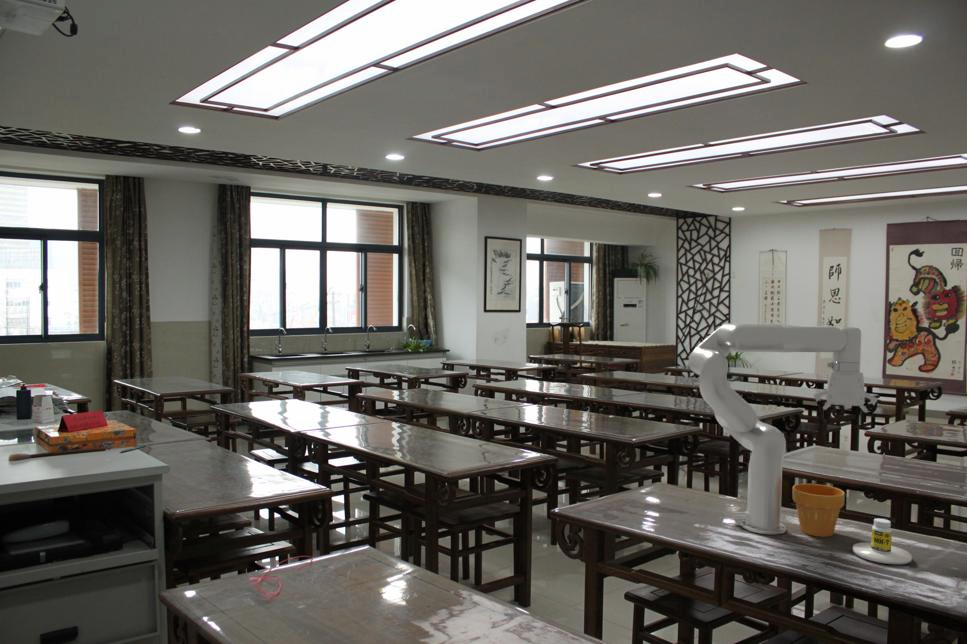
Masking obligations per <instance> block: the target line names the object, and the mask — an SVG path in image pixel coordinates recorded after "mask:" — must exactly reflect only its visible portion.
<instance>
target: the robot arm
mask: <svg viewBox="0 0 967 644" xmlns="http://www.w3.org/2000/svg"><path fill="white" fill-rule="evenodd" d="M861 351H862V331H861V328H858V327H852V326H830V325H814V326H797V325H790V324H781V323H780V324H779V323H766V324H765V323H763V324H762V323H761V324H760V323H730V322H729V323H724V324H721V326H719V327H717V329H715V330H714V331H713V332H712V333H711V334H710V335H708V337H706V338H705V339H704V340H703V341H702V342H701V343H700V344H699V345H698V346H696V347H695V349H693V350H692V352H691V353H690V354H689V357H688V366H689V369H690V370H691V371H692V372H693V373H694V374H696V375H698V376H699V377H698V378H699V379H698V386H699V392H700V394H701V396H702V398H703V399H704V401H705V402H706V404H708V406H709V407H710V408H711V409H712V410H713V411H714V412H713V413H714V417H715V419H716V421H717V422H718V424H719V425H720V426H721V427H722V428H723V429H724V430H725V431H726V433H728V434H729V435H730V436H732V437H733V439H734V440H736V441H737V442H738V443H739V444H740V445H741V446H742V447H744V448H745V449H747V450H749V451H751V455H750V457H749V458H750V459H749V462H748V470H747V471H748V473H747V478H748V479H747V503H746V504H747V508H746V510H745V511H741V512H740V511H736V510H733V511H732V510H731V518H734V519H735V520H741V525H740V526H741V527H742V528H743V529H745V530H747V531H749V532H752V533H756V534H762V535H771V536H772V535H775V536H776V535H781V534H784V533H785V532H786V531H787V528H786V526H785V525H784V524H783V523H781V521H782V520H781V517H782V516H781V515H782V487H783V485H782V483H783V463H784V458H785V454H786V449H787V441H786V438H785V435H784V433H783V432H782V431H781V430H779V429H778V428H777V427H776V426H773V425H771V424H768V423H765V422H762V421H761V420H760V419H759V418H758V414H757V412H756V410H755V408H754V407H753V406H752V405H751V404H750V403H748V401H746V400H745V398H743V397H742V396H741V395H740V394H739V393H737V392H736V390H735V389H734V388H733V387H732V386H731V385H730V384H729V382H728V379H727V375H728V370H729V368H728V367H729V365H728V359H727V358H726V357H727V356H728V355H729V354H730V353H731V352H734V353H735V352H736V353H832V362H827V364H826V368H830V369H831V370H830V371H829V374H828V378H827V386H826V389H824V390H822V391H819V392H816V393H814V394H813V398H814V399H815V401H816V403H817V405H819V407H821V409H822V420H824V422H825V424H828V423H829V419H830V417H829V416H830V415H829V413H830V411H829V407H830V406H832V405H836V406H851V407H859V408H860V409H861V410H860V412H859V424H860V425H861V426H862V427H863V426H865V423H867V413H868V412H869V411H870V410H871V409H873V408H874V407H875V405H876V403H877V402H878V398H877V397H876V396H873V395H872V394H871V393H868V392H866V391H865V380H864V373H863V372H860V371H861V356H862V355H861V354H862V353H861ZM823 396H826V401H825V403H824V402H823V401H822V400H821V397H823ZM866 399H869V400H870V401H869V403H868V404H867V405H864V404H865V400H866Z"/></svg>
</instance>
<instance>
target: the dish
mask: <svg viewBox="0 0 967 644" xmlns="http://www.w3.org/2000/svg"><path fill="white" fill-rule="evenodd" d="M852 552H853V553H854V554H855V555H856V556H858V557H860V558H862V559H865V560H868V561H872V562H876V563H879V564H885V565H886V564H888V565H906V564H910V563H911V562H912V558H913V555H912V554H911V553H910V552H909V551H907V550H905V549H903V548H900V547H897V546H893V545H891V553H888V554H884V553H878V552H875V551H873V550H872V549H871V542H858V543H855V544H853V545H852Z"/></svg>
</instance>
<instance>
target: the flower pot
mask: <svg viewBox="0 0 967 644" xmlns="http://www.w3.org/2000/svg"><path fill="white" fill-rule="evenodd" d="M845 498H846V493H845V491H844V490H842V489H840V488H838V487H833V486H831V485H825V484H818V483H817V484H816V483H798V484H794V485H792V501H794V502H795V505H796V511H797V518H798V522H799V527H800V531H801V532H802V533H804V534H807V535H808V536H809V535H810V536H812V535H813V536H812V537H818V536H820V537H821V538H827V537H832V536H833V535H834V534H835V533H834V532H835V530H836V526H837V523H838V522H837V521H838V518H839V514H840V511H841V508H843V507H844V505H845ZM820 537H819V538H820Z"/></svg>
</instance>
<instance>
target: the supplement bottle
mask: <svg viewBox="0 0 967 644" xmlns="http://www.w3.org/2000/svg"><path fill="white" fill-rule="evenodd" d="M891 526H892V523H891V521H890V520H888V519H887V518H878V517H877V518H874V519H873V525H872V527H871V541H870V543H871V549H872V550H873V551H875V552H878V553H884V554H888V553H891V546H892V538H893V537H892V536H893V529H892V528H891Z"/></svg>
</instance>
